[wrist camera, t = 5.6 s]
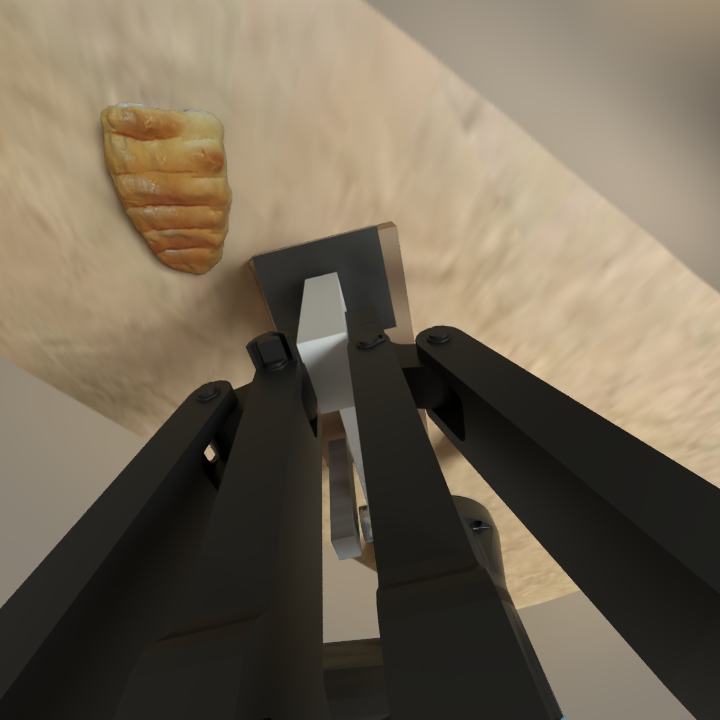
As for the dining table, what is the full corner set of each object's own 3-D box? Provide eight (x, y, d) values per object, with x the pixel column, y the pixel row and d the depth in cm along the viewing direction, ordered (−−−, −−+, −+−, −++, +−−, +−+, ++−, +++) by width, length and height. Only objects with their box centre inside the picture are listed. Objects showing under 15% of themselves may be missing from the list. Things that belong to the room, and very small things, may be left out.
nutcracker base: (424, 429, 34) (466, 538, 24) (327, 451, 34) (330, 569, 24) (391, 221, 24) (440, 263, 14) (254, 255, 24) (207, 320, 14)
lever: (428, 508, 26) (438, 538, 24) (352, 525, 26) (354, 557, 24) (371, 225, 18) (376, 225, 16) (262, 252, 18) (251, 257, 16)
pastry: (247, 267, 25) (236, 283, 22) (150, 267, 24) (123, 284, 21) (225, 108, 20) (205, 98, 17) (103, 103, 20) (58, 91, 16)
